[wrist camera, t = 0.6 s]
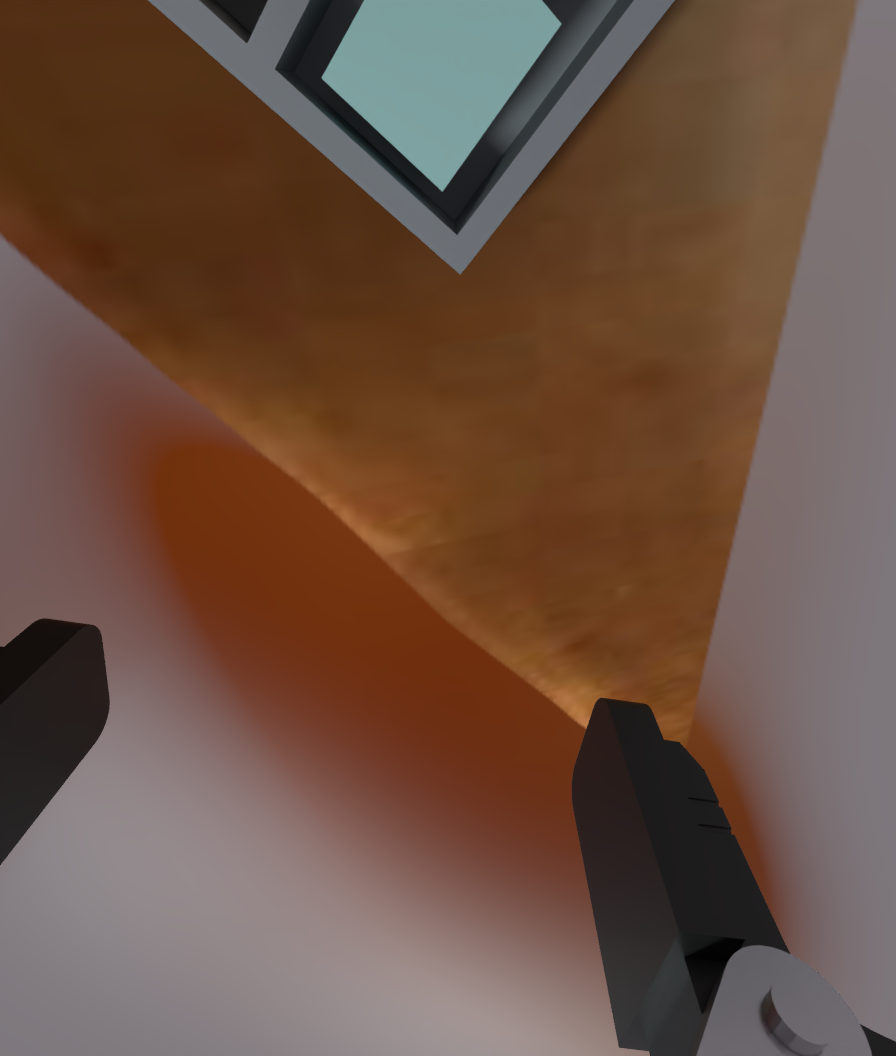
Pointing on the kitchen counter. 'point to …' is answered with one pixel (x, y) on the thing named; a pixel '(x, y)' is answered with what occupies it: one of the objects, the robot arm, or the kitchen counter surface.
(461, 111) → the offcut
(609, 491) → the kitchen counter surface
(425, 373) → the kitchen counter surface
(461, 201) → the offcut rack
